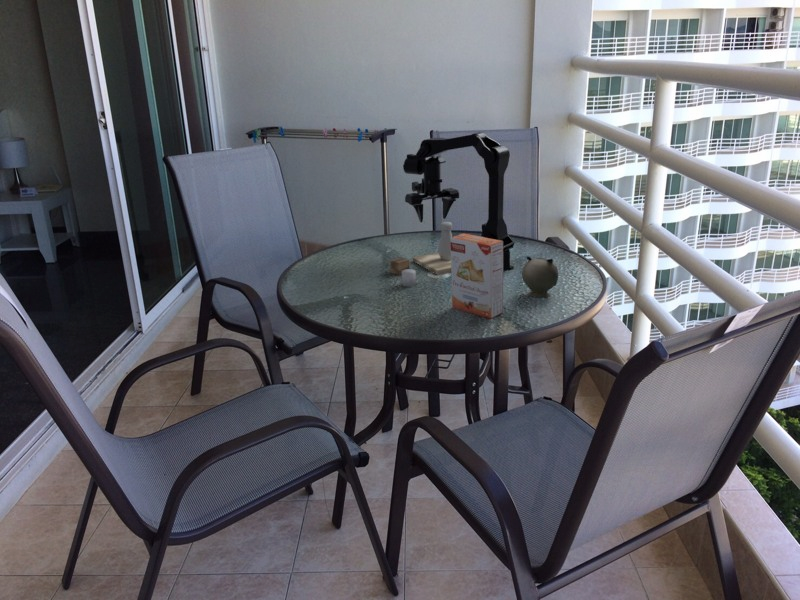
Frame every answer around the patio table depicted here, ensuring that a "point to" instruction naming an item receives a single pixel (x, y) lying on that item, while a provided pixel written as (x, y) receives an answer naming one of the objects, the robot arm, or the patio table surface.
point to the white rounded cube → (409, 277)
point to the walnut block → (399, 265)
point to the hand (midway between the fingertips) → (432, 220)
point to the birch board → (433, 263)
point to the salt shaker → (445, 241)
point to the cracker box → (477, 275)
